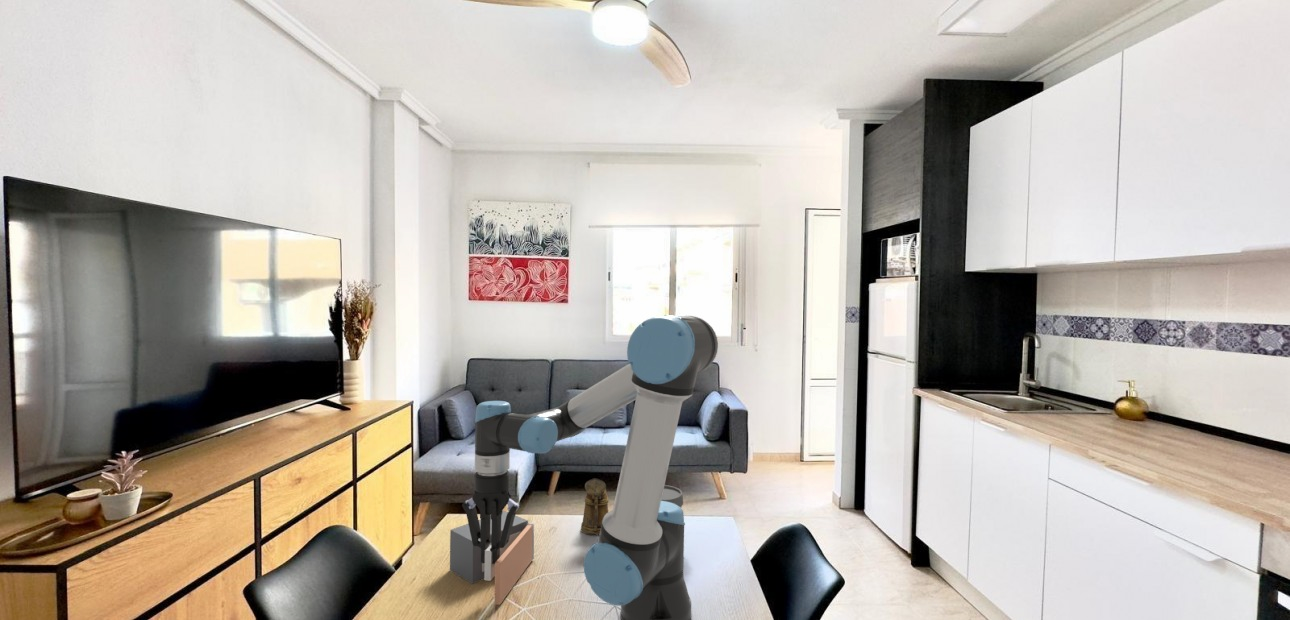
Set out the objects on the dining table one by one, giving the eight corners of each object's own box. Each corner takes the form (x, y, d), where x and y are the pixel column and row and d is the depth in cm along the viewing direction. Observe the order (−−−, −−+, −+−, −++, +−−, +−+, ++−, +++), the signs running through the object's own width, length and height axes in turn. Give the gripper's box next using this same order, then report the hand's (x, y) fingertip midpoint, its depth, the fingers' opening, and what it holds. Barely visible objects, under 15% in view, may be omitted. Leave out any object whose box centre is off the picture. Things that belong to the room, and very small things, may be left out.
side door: (534, 557, 132) (535, 522, 132) (500, 604, 110) (501, 563, 110) (528, 557, 132) (529, 522, 132) (493, 604, 110) (494, 562, 111)
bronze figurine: (577, 542, 142) (578, 478, 142) (582, 523, 155) (582, 464, 155) (609, 542, 142) (610, 478, 142) (611, 522, 156) (612, 464, 156)
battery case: (528, 559, 132) (528, 520, 132) (473, 584, 119) (474, 541, 119) (504, 547, 138) (504, 510, 138) (449, 570, 126) (450, 529, 126)
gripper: (456, 474, 111) (454, 583, 110) (513, 477, 109) (511, 588, 109) (472, 465, 118) (470, 567, 118) (525, 467, 117) (524, 571, 116)
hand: (490, 577), depth 113 cm, fingers closed
